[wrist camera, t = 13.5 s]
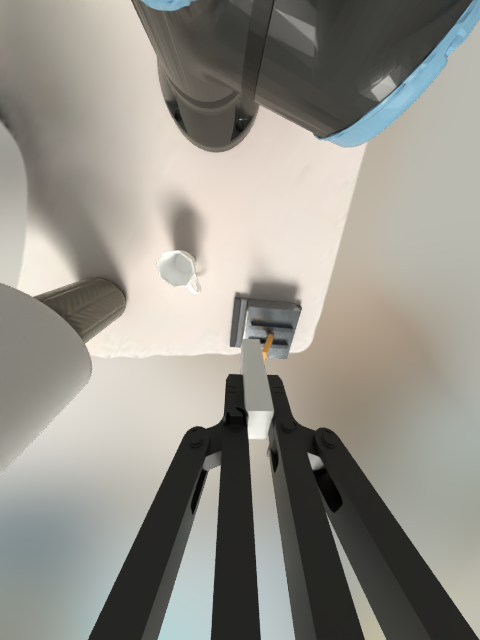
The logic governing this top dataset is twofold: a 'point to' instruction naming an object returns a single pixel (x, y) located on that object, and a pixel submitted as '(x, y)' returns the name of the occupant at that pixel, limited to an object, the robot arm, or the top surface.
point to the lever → (267, 345)
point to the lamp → (47, 354)
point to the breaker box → (271, 324)
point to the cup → (178, 269)
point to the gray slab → (238, 321)
